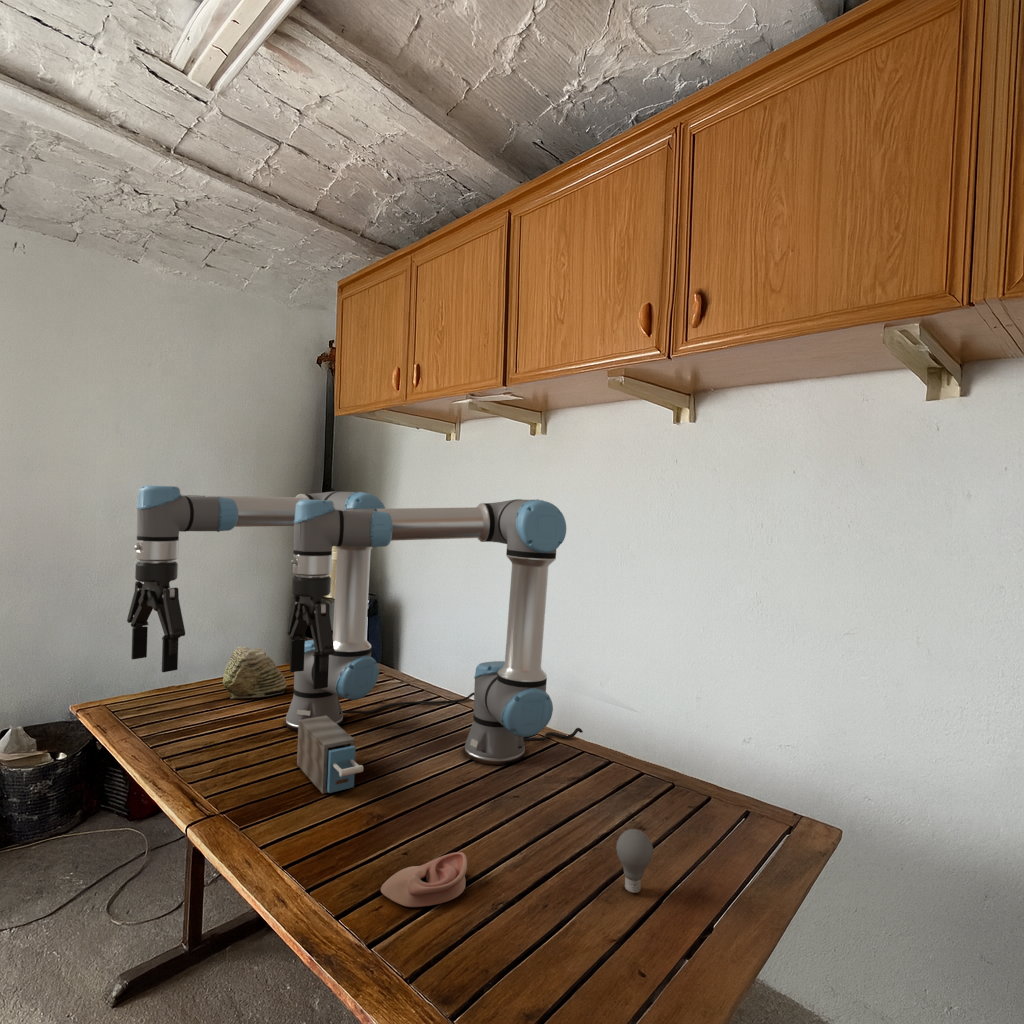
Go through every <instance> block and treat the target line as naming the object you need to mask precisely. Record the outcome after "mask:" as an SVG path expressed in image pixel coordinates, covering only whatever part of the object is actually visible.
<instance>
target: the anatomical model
mask: <svg viewBox="0 0 1024 1024" xmlns="http://www.w3.org/2000/svg"><path fill="white" fill-rule="evenodd" d="M467 870H468V858H467V856H466V853H464V852H462V851H457V852H456V851H455V852H450V853H448V854H444V855H441V856H439V857H436V858H434V859H432V860H430V861H428V862H426V863H424V864H421V865H411V866H408V867H405V868H402V869H400V870H399V871H396V872H395V873H394V874H392V875H391V876H390V877H389V878H388V879H387V880H386V881H385V882H383V884H382V885H381V886H380V893H381V894H382V895H383V896H384V897H386V898H388V899H389V900H391V901H392V902H394V903H396V904H398V905H400V906H403V907H407V908H422V907H430V906H435V905H440V904H443V903H446V902H449V901H452V900H454V899H456V898H458V897H459V896H460V895H461V894H463V892H464V891H465V889H466V882H467V880H466V874H467Z"/></svg>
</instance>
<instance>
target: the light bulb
mask: <svg viewBox="0 0 1024 1024" xmlns="http://www.w3.org/2000/svg"><path fill="white" fill-rule="evenodd" d="M615 849H616V854H617V857H618V859H619V861H620V863H621V865H622V867H623V873H624V874H623V875H624V876H625V878H624V888H625V890H627V891H628V892H630V893H634V894H635V893H639V892H640V891H641V889H642V887H641V886H642V879H643V877H644V875H645V871H646V868H647V867H648V866H649V864H650V863H651V861H652V859H653V855H654V847H653V843H652V841H651V838H649V836H648V835H647V834H646V833H645V832H643V831H642V830H641V829H636V828H629V829H627V830H625V831H623V832H622V833H621V834H620V835H619V837H618V839H617V841H616V847H615Z"/></svg>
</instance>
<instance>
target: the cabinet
mask: <svg viewBox="0 0 1024 1024" xmlns="http://www.w3.org/2000/svg"><path fill="white" fill-rule="evenodd" d="M346 744H347V745H348V747H349V746H355V738H354V737H353V736H352V735H350V734H349V733H348V731H347V732H346V730H345V729H343V728H342V727H341V726H340V725H339V726H338V725H337V724H336V723H335V722H334V721H332V720H331V719H330V718H329V717H328V716H321V717H315V718H309V719H303V720H299V724H298V731H297V753H296V765H297V766H298V767H299V769H300V770H301V771H302V772H303V773H304V774H305V776H306V777H307V778H308V779H309V780H310V782H311V783H312V784H313V785H314V786H315V787H316V788H317V789H318V790H319V791H320V793H321V794H322V795H324V794H330V793H329V792H328V791H327V760H328V748H331V747H336V746H341V745H346Z"/></svg>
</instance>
